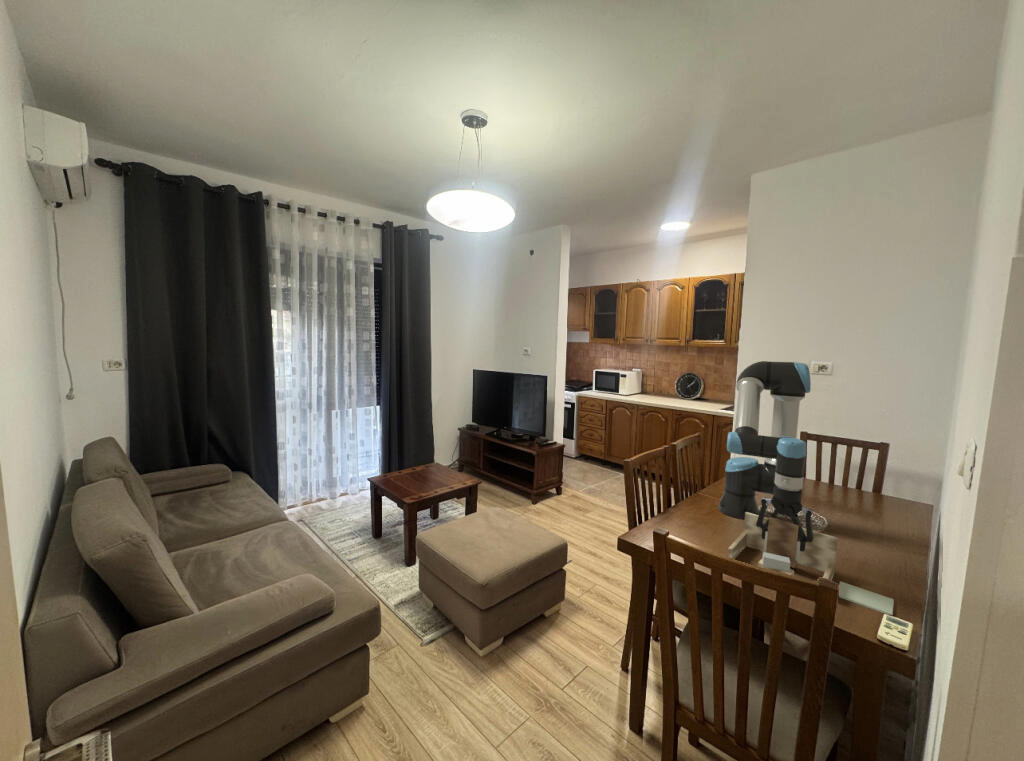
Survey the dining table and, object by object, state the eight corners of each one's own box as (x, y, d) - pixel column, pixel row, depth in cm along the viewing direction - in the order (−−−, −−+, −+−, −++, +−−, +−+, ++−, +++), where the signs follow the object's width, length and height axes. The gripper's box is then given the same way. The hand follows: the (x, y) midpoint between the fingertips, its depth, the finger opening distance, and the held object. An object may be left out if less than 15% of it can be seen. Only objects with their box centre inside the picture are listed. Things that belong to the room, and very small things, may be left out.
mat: (835, 596, 118) (836, 594, 118) (840, 583, 125) (840, 581, 125) (892, 616, 110) (892, 614, 110) (893, 601, 116) (893, 599, 116)
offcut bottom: (757, 571, 131) (758, 562, 131) (761, 567, 133) (761, 558, 133) (790, 584, 125) (791, 574, 124) (793, 579, 127) (794, 570, 127)
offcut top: (762, 565, 129) (763, 556, 128) (762, 560, 132) (763, 551, 132) (789, 572, 126) (790, 563, 125) (788, 566, 129) (789, 557, 128)
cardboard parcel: (765, 558, 135) (769, 517, 133) (768, 553, 138) (772, 513, 136) (794, 568, 129) (798, 526, 128) (797, 563, 132) (801, 521, 131)
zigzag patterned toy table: (726, 563, 135) (728, 529, 133) (743, 543, 148) (746, 511, 147) (824, 600, 116) (828, 560, 115) (834, 573, 130) (838, 537, 128)
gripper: (748, 481, 135) (742, 546, 138) (826, 499, 121) (819, 572, 123) (754, 475, 141) (749, 538, 143) (830, 492, 126) (823, 562, 129)
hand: (781, 553), depth 133 cm, fingers closed on cardboard parcel, 8 cm apart
